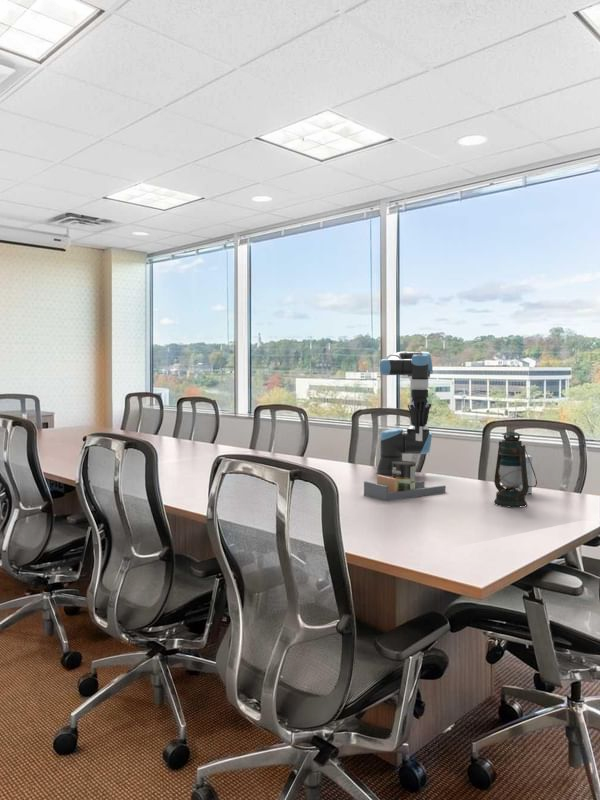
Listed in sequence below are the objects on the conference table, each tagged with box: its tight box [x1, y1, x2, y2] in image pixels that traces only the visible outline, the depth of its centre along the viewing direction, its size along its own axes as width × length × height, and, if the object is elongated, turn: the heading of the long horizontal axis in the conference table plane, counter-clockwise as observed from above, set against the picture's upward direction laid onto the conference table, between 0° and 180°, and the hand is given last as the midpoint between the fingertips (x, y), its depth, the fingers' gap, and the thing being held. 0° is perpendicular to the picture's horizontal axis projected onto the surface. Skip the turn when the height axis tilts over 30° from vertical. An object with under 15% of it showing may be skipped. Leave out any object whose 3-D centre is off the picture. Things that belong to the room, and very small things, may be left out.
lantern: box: [493, 430, 538, 508], centre depth 252 cm, size 19×14×30 cm
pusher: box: [376, 474, 397, 493], centre depth 267 cm, size 2×11×8 cm, turn 33°
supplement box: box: [515, 453, 533, 493], centre depth 278 cm, size 10×9×17 cm
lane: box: [363, 480, 446, 502], centre depth 273 cm, size 35×14×6 cm, turn 123°
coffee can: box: [391, 460, 417, 492], centre depth 272 cm, size 10×10×14 cm
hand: (418, 440), depth 281 cm, fingers closed
